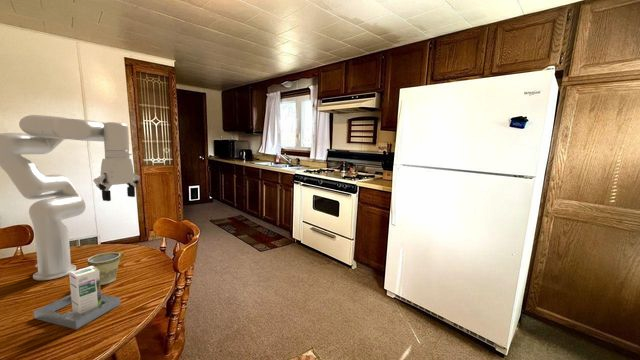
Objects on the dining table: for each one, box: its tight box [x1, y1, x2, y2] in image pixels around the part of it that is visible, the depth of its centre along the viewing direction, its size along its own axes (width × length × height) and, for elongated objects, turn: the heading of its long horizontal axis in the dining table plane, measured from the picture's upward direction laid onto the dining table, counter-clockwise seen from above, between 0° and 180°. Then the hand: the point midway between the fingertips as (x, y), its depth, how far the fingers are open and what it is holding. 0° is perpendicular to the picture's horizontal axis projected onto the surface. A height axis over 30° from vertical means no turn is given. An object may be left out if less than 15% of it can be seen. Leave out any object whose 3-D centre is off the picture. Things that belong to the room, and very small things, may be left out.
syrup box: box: [68, 265, 102, 315], centre depth 82 cm, size 6×6×14 cm
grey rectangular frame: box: [33, 293, 121, 330], centre depth 84 cm, size 18×13×2 cm
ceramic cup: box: [87, 251, 125, 286], centre depth 104 cm, size 13×10×10 cm
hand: (119, 198), depth 102 cm, fingers open, 9 cm apart
